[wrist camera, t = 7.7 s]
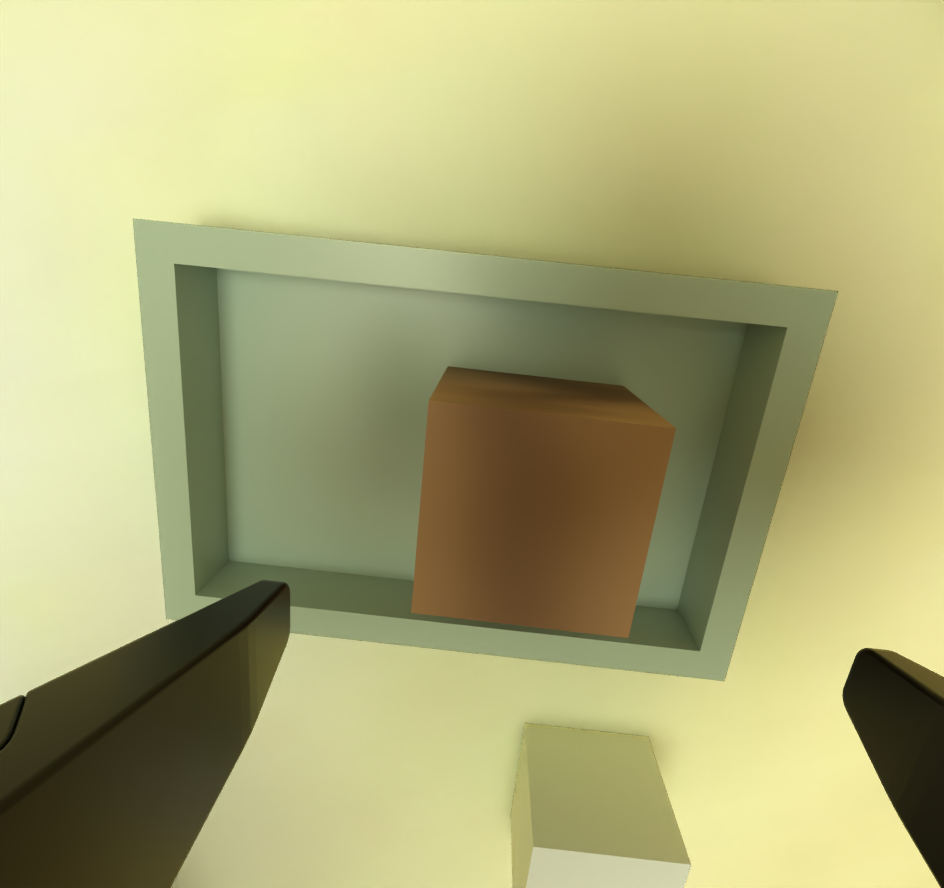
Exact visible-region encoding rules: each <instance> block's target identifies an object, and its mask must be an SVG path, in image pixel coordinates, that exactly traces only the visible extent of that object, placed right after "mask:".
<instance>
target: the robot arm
mask: <svg viewBox="0 0 944 888" xmlns="http://www.w3.org/2000/svg"><path fill="white" fill-rule="evenodd" d="M289 634H290V588H289V585H288V584H287V583H286V582H280V581H272V580H261V581H258V582H256V583H254V584H252V585H250V586H248V587H246V588H244V589H242V590H240V591H238V592H235V593H233V594H231V595H229V596H227V597H225V598H223V599H221V600H219V601H217V602H215V603H212V604H210V605H208V606H206V607H204V608H202V609H200V610H198V611H196V612H194V613H192V614H189V615H187V616H185V617H183V618H181V619H179V620H177V621H175V622H173V623H171V624H169V625H166V626H164V627H162V628H160V629H158V630H156V631H154V632H152V633H150V634H148V635H146V636H143V637H141V638H139V639H137V640H135V641H133V642H131V643H129V644H127V645H125V646H123V647H120V648H118V649H116V650H114V651H112V652H110V653H108V654H106V655H104V656H102V657H100V658H97V659H95V660H93V661H91V662H89V663H87V664H85V665H83V666H81V667H79V668H76V669H74V670H72V671H70V672H68V673H66V674H64V675H62V676H60V677H58V678H56V679H53V680H51V681H49V682H47V683H45V684H43V685H41V686H39V687H37V688H35V689H33V690H30V691H29V692H28V693H27V694H26V697H25V696H23V695H20V696H18V697H15V698H13V699H11V700H9V701H7V702H5V703H3V704H1V705H0V888H171V886H172V884H173V882H174V880H175V878H176V876H177V874H178V872H179V871H180V869H181V867H182V865H183V863H184V861H185V859H186V857H187V855H188V853H189V851H190V850H191V848H192V846H193V844H194V842H195V840H196V838H197V836H198V834H199V832H200V830H201V829H202V827H203V825H204V823H205V821H206V819H207V817H208V815H209V813H210V811H211V810H212V808H213V806H214V804H215V802H216V800H217V798H218V796H219V794H220V792H221V790H222V789H223V787H224V785H225V783H226V781H227V779H228V777H229V775H230V773H231V771H232V769H233V768H234V766H235V764H236V762H237V760H238V758H239V756H240V754H241V752H242V750H243V748H244V746H245V744H246V742H247V740H248V738H249V736H250V734H251V732H252V730H253V727H254V725H255V722H256V720H257V718H258V715H259V713H260V710H261V708H262V705H263V703H264V700H265V698H266V695H267V692H268V690H269V687H270V685H271V682H272V680H273V677H274V675H275V672H276V670H277V667H278V665H279V662H280V660H281V657H282V654H283V652H284V649H285V647H286V644H287V642H288V638H289ZM843 702H844V706H845V708H846V711H847V713H848V715H849V717H850V719H851V721H852V723H853V725H854V727H855V729H856V731H857V733H858V735H859V737H860V739H861V741H862V744H863V746H864V748H865V750H866V752H867V754H868V756H869V758H870V760H871V762H872V764H873V766H874V768H875V770H876V772H877V774H878V776H879V779H880V781H881V783H882V785H883V787H884V789H885V791H886V793H887V795H888V797H889V799H890V801H891V803H892V805H893V807H894V808H895V810H896V812H897V814H898V816H899V817H900V819H901V821H902V823H903V825H904V826H905V828H906V830H907V831H908V833H909V835H910V837H911V838H912V840H913V842H914V843H915V845H916V847H917V848H918V850H919V852H920V853H921V855H922V857H923V859H924V860H925V862H926V864H927V865H928V867H929V869H930V870H931V872H932V874H933V875H934V877H935V879H936V881H937V882H938V884H939V886H940V887H941V888H944V677H943V676H941V675H939V674H937V673H935V672H933V671H931V670H929V669H927V668H925V667H923V666H921V665H919V664H917V663H915V662H913V661H911V660H909V659H907V658H905V657H903V656H901V655H899V654H897V653H895V652H893V651H889V650H882V649H872V648H864V649H861V650H860V651H859V652H858V653H857V655H856V657H855V659H854V662H853V664H852V667H851V670H850V672H849V675H848V678H847V680H846V683H845V686H844V689H843Z"/></svg>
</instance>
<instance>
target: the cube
mask: <svg viewBox="0 0 944 888" xmlns="http://www.w3.org/2000/svg"><path fill="white" fill-rule="evenodd" d="M511 848H512V884H513V888H684V886H685V883H686V880H687V877H688V873H689V870H690V867H691V863H690V860H689V857H688V854H687V851H686V848H685V845H684V842H683V839H682V836H681V833H680V830H679V827H678V824H677V821H676V818H675V815H674V812H673V809H672V806H671V803H670V800H669V797H668V794H667V791H666V788H665V785H664V782H663V779H662V776H661V773H660V770H659V767H658V764H657V761H656V758H655V756H654V753H653V750H652V747H651V744H650V741H649V738H648V737H647V736H638V735H629V734H620V733H611V732H602V731H593V730H584V729H574V728H565V727H556V726H547V725H538V724H529V723H525V727H524V733H523V739H522V746H521V752H520V758H519V765H518V771H517V777H516V784H515V790H514V796H513V803H512V809H511Z"/></svg>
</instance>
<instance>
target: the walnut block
mask: <svg viewBox="0 0 944 888" xmlns="http://www.w3.org/2000/svg"><path fill="white" fill-rule="evenodd" d="M675 431H676V428H675V427H674V426H673V425H671V424H670V423H669V422H668V421H666V420H665V419H664V418H663V417H661V416H660V415H659V414H658V413H657V412H655V411H654V410H653V409H652V408H650V407H649V406H648V405H647V404H645V403H644V402H643V401H642V400H640V399H639V398H638V397H637V396H636V395H634V394H633V393H632V392H631V391H629V390H628V389H627V388H626V387H624V386H620V385H611V384H602V383H593V382H585V381H576V380H567V379H558V378H549V377H540V376H531V375H522V374H513V373H504V372H495V371H486V370H477V369H468V368H459V367H450V366H448V367H447V369H446V370H445V372H444V374H443V376H442V378H441V379H440V381H439V383H438V385H437V386H436V388H435V390H434V392H433V394H432V395H431V397H430V399H429V402H428V414H427V426H426V438H425V450H424V462H423V474H422V486H421V499H420V511H419V523H418V535H417V547H416V559H415V571H414V583H413V596H412V608H411V613H417V614H425V615H434V616H443V617H451V618H460V619H468V620H477V621H486V622H494V623H503V624H511V625H520V626H529V627H537V628H546V629H555V630H563V631H572V632H580V633H589V634H598V635H606V636H615V637H623V638H628V637H629V633H630V628H631V624H632V620H633V615H634V611H635V606H636V602H637V598H638V593H639V589H640V584H641V580H642V576H643V571H644V567H645V563H646V558H647V554H648V549H649V545H650V541H651V536H652V532H653V527H654V523H655V519H656V514H657V510H658V505H659V501H660V497H661V492H662V488H663V483H664V479H665V475H666V470H667V466H668V461H669V457H670V453H671V448H672V444H673V439H674V435H675Z"/></svg>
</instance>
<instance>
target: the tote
mask: <svg viewBox="0 0 944 888" xmlns="http://www.w3.org/2000/svg"><path fill="white" fill-rule="evenodd" d="M133 227H134V239H135V251H136V263H137V275H138V287H139V299H140V311H141V323H142V335H143V346H144V358H145V370H146V382H147V394H148V406H149V418H150V430H151V442H152V454H153V466H154V478H155V490H156V501H157V513H158V525H159V537H160V549H161V561H162V573H163V585H164V597H165V609H166V619H172V620H179V619H181V618H183V617H185V616H187V615H189V614H192V613H194V612H196V611H198V610H200V609H202V608H204V607H206V606H208V605H210V604H212V603H215V602H217V601H219V600H221V599H223V598H225V597H227V596H229V595H231V594H233V593H235V592H238V591H240V590H242V589H244V588H246V587H248V586H250V585H252V584H254V583H256V582H258V581H261V580H272V581H280V582H286V583H287V584H288V585H289V588H290V633H297V634H306V635H315V636H324V637H333V638H342V639H351V640H360V641H369V642H378V643H387V644H396V645H405V646H414V647H423V648H432V649H441V650H450V651H458V652H467V653H476V654H485V655H494V656H503V657H512V658H521V659H530V660H539V661H548V662H557V663H566V664H575V665H584V666H593V667H602V668H611V669H620V670H629V671H638V672H647V673H656V674H665V675H674V676H683V677H692V678H701V679H710V680H718V681H725V677H726V674H727V670H728V667H729V663H730V660H731V657H732V653H733V650H734V646H735V643H736V640H737V636H738V633H739V629H740V626H741V622H742V619H743V616H744V612H745V609H746V605H747V602H748V598H749V595H750V592H751V588H752V585H753V581H754V578H755V574H756V571H757V568H758V564H759V561H760V557H761V554H762V550H763V547H764V544H765V540H766V537H767V533H768V530H769V526H770V523H771V520H772V516H773V513H774V509H775V506H776V503H777V499H778V496H779V492H780V489H781V485H782V482H783V479H784V475H785V472H786V468H787V465H788V461H789V458H790V455H791V451H792V448H793V444H794V441H795V437H796V434H797V431H798V427H799V424H800V420H801V417H802V413H803V410H804V407H805V403H806V400H807V396H808V393H809V389H810V386H811V383H812V379H813V376H814V372H815V369H816V366H817V362H818V359H819V355H820V352H821V348H822V345H823V342H824V338H825V335H826V331H827V328H828V324H829V321H830V318H831V314H832V311H833V307H834V304H835V300H836V297H837V294H838V291H831V290H821V289H812V288H802V287H792V286H783V285H773V284H763V283H754V282H744V281H734V280H725V279H715V278H705V277H695V276H686V275H676V274H666V273H657V272H647V271H637V270H628V269H618V268H608V267H598V266H589V265H579V264H569V263H560V262H550V261H540V260H531V259H521V258H511V257H501V256H492V255H482V254H472V253H463V252H453V251H443V250H434V249H424V248H414V247H405V246H395V245H385V244H375V243H366V242H356V241H346V240H337V239H327V238H317V237H308V236H298V235H288V234H278V233H269V232H259V231H249V230H240V229H230V228H220V227H211V226H201V225H191V224H181V223H172V222H162V221H152V220H143V219H133ZM448 366H450V367H459V368H468V369H477V370H486V371H495V372H504V373H513V374H522V375H531V376H540V377H549V378H558V379H567V380H576V381H585V382H593V383H602V384H611V385H620V386H624V387H626V388H627V389H628V390H629V391H631V392H632V393H633V394H634V395H636V396H637V397H638V398H639V399H640V400H642V401H643V402H644V403H645V404H647V405H648V406H649V407H650V408H652V409H653V410H654V411H655V412H657V413H658V414H659V415H660V416H661V417H663V418H664V419H665V420H666V421H668V422H669V423H670V424H671V425H673V426H674V427H675V428H676V431H675V435H674V439H673V444H672V448H671V453H670V457H669V461H668V466H667V470H666V475H665V479H664V483H663V488H662V492H661V497H660V501H659V505H658V510H657V514H656V519H655V523H654V527H653V532H652V536H651V541H650V545H649V549H648V554H647V558H646V563H645V567H644V571H643V576H642V580H641V584H640V589H639V593H638V598H637V602H636V606H635V611H634V615H633V620H632V624H631V628H630V633H629V637H628V638H623V637H615V636H606V635H598V634H589V633H580V632H572V631H563V630H555V629H546V628H537V627H529V626H520V625H511V624H503V623H494V622H486V621H477V620H468V619H460V618H451V617H443V616H434V615H425V614H417V613H411V608H412V596H413V583H414V571H415V559H416V547H417V535H418V523H419V511H420V499H421V486H422V474H423V462H424V450H425V438H426V426H427V414H428V402H429V399H430V397H431V395H432V394H433V392H434V390H435V388H436V386H437V385H438V383H439V381H440V379H441V378H442V376H443V374H444V372H445V370H446V369H447V367H448Z"/></svg>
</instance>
